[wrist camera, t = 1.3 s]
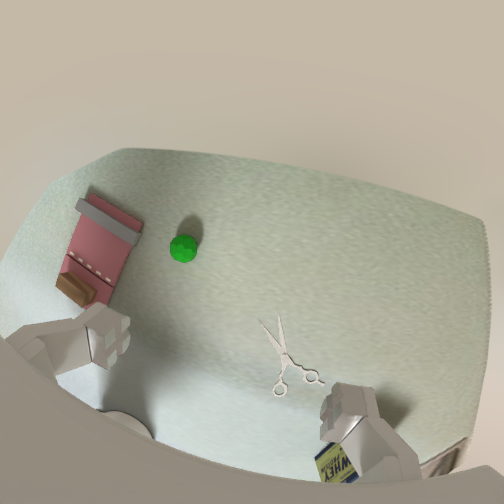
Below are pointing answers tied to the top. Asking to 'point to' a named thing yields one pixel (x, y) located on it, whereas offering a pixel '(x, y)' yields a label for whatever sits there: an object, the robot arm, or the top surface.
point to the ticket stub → (82, 284)
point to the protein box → (335, 465)
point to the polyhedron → (183, 248)
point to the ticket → (103, 238)
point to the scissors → (287, 360)
